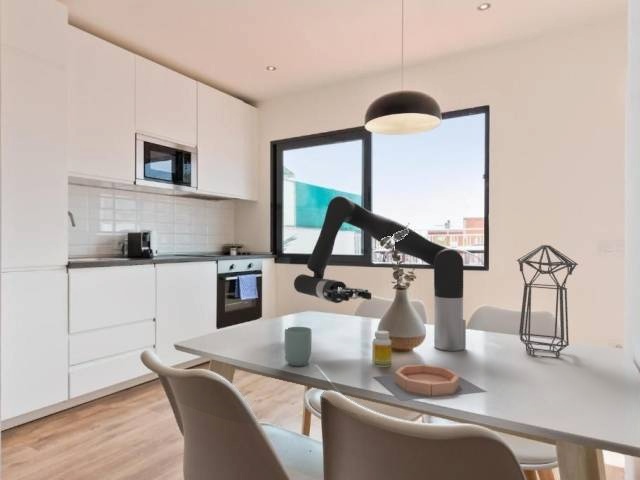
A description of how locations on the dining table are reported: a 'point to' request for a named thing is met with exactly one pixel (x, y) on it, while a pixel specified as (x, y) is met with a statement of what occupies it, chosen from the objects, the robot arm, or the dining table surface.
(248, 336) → the dining table surface
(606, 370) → the dining table surface
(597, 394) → the dining table surface
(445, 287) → the robot arm
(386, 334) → the supplement bottle
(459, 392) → the placemat
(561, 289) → the geometric lantern
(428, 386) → the bowl
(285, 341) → the cup
